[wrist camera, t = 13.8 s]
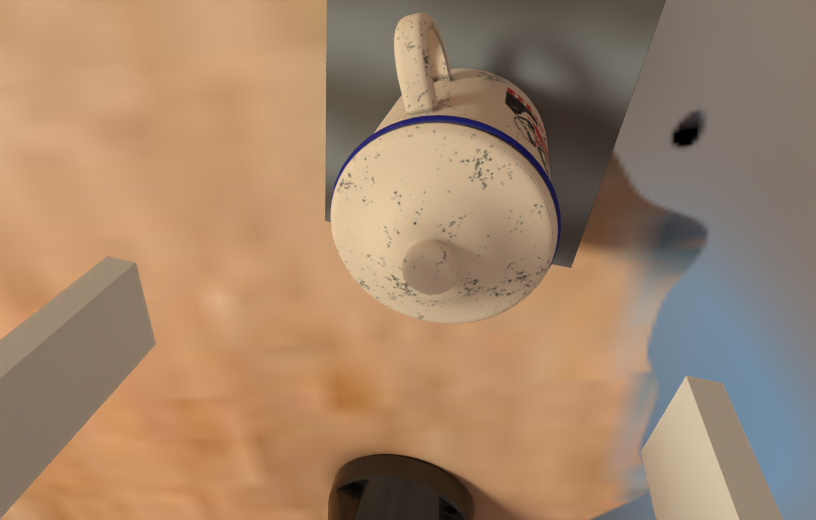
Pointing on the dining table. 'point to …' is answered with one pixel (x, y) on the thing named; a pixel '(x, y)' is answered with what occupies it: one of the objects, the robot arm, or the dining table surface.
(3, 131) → the dining table surface
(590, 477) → the dining table surface
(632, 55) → the grey stand
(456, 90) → the teacup with lid
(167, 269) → the dining table surface
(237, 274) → the dining table surface
